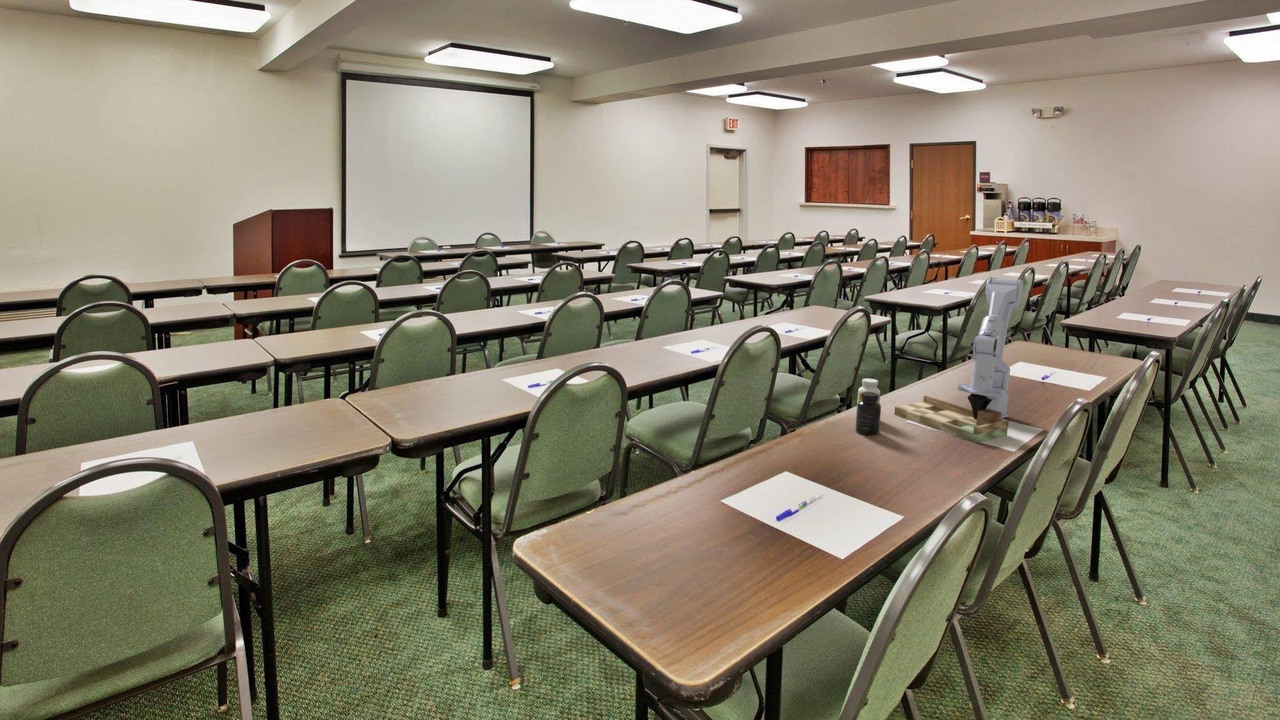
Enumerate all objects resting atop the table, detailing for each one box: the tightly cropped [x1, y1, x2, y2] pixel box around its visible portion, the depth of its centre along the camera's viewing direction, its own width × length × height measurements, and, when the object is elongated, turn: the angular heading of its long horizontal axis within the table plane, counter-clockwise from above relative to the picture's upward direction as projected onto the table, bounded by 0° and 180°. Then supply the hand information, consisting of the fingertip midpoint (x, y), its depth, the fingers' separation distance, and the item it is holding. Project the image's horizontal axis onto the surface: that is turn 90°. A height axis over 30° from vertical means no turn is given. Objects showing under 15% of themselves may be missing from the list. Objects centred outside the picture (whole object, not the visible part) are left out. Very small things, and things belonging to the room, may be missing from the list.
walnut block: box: [976, 409, 1002, 426], centre depth 210 cm, size 4×4×4 cm
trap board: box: [893, 395, 1010, 444], centre depth 219 cm, size 14×30×4 cm, turn 28°
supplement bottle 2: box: [855, 392, 882, 436], centre depth 211 cm, size 7×7×12 cm
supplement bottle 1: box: [856, 378, 881, 414], centre depth 222 cm, size 7×7×13 cm
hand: (977, 419), depth 213 cm, fingers closed
